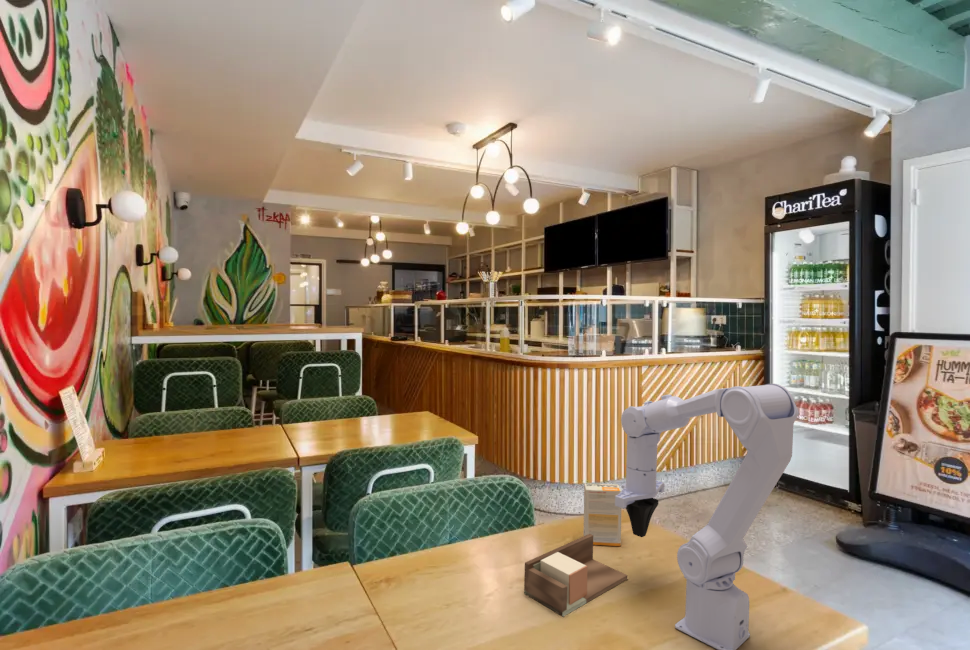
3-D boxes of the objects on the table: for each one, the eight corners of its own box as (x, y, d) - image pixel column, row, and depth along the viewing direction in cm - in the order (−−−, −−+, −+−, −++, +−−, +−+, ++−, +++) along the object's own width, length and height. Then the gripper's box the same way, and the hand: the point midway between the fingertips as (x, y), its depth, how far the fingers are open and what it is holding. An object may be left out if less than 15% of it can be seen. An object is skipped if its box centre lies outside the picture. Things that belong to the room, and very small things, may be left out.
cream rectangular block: (587, 594, 98) (587, 566, 98) (569, 604, 95) (570, 575, 94) (557, 578, 103) (557, 551, 103) (540, 588, 100) (540, 560, 100)
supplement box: (617, 538, 124) (619, 483, 124) (620, 547, 119) (622, 490, 119) (582, 536, 125) (584, 481, 125) (584, 545, 120) (585, 488, 120)
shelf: (627, 579, 105) (628, 549, 105) (563, 616, 92) (563, 583, 92) (588, 561, 113) (589, 533, 112) (524, 593, 99) (524, 562, 99)
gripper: (643, 455, 111) (641, 518, 111) (602, 468, 101) (600, 538, 101) (674, 463, 105) (672, 529, 106) (634, 478, 96) (632, 551, 96)
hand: (639, 534), depth 103 cm, fingers closed
